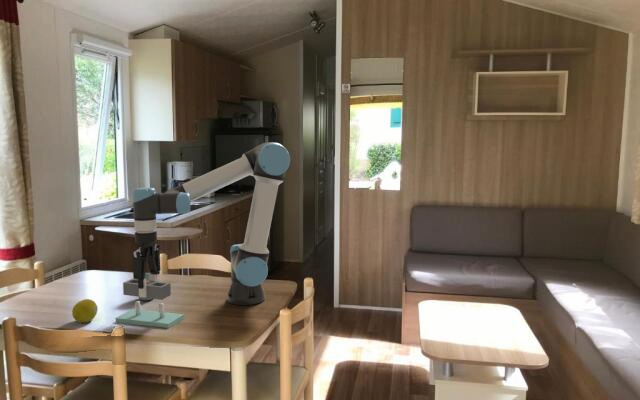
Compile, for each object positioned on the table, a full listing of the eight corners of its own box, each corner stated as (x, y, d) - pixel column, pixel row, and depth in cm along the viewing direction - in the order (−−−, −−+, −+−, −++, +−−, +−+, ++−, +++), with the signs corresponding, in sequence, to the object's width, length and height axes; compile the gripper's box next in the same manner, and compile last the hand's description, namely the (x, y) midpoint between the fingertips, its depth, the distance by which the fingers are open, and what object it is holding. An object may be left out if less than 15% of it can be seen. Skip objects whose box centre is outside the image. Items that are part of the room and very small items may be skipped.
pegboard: (184, 318, 190) (183, 301, 189) (169, 328, 181) (168, 310, 180) (133, 312, 196) (132, 296, 196) (115, 322, 187) (114, 304, 186)
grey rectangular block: (170, 295, 188) (170, 281, 187) (161, 299, 182) (161, 285, 182) (133, 290, 192) (132, 277, 192) (123, 294, 187) (123, 281, 186)
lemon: (85, 327, 182) (83, 305, 181) (66, 325, 184) (64, 303, 183) (105, 317, 192) (104, 296, 191) (87, 315, 194) (86, 294, 193)
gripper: (152, 226, 194) (154, 286, 197) (119, 235, 177) (122, 301, 179) (169, 227, 192) (171, 288, 195) (138, 236, 174) (141, 303, 177)
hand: (148, 294), depth 187 cm, fingers closed on grey rectangular block, 5 cm apart
